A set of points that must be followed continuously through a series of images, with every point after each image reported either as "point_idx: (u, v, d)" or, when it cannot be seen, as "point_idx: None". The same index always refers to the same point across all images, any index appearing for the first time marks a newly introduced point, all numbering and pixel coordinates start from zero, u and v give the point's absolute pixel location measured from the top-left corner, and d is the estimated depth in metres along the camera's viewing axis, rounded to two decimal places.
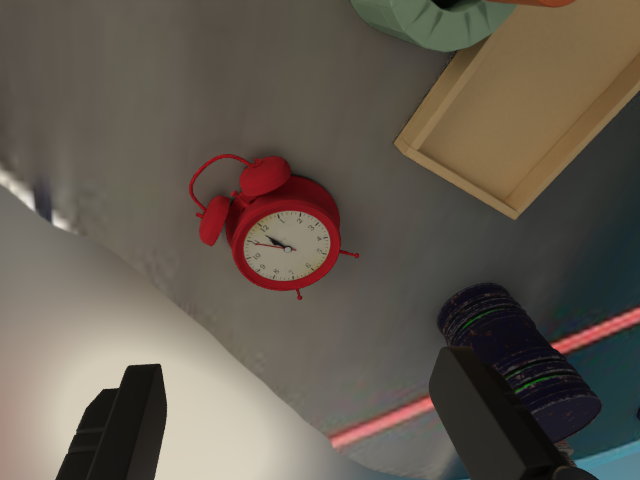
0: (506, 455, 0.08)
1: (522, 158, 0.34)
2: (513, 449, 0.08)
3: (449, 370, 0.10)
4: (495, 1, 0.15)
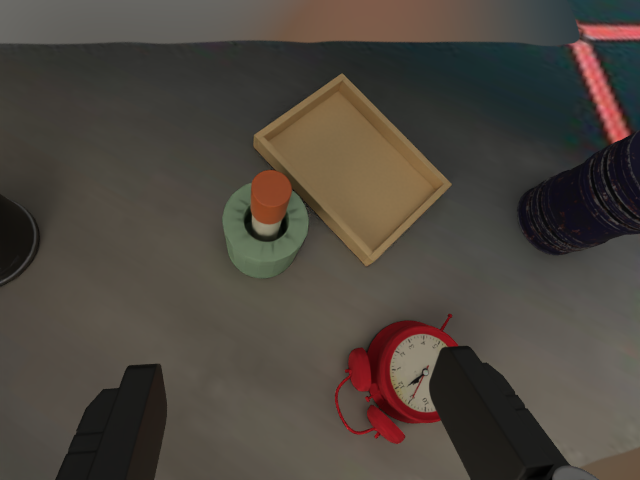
0: (506, 455, 0.08)
1: (404, 176, 0.46)
2: (513, 449, 0.08)
3: (449, 370, 0.10)
4: (284, 213, 0.29)
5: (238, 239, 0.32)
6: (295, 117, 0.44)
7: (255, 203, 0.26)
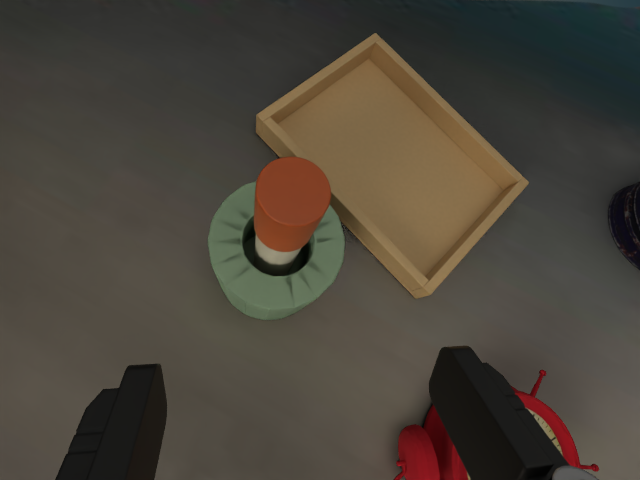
0: (506, 455, 0.08)
1: (460, 171, 0.34)
2: (513, 449, 0.08)
3: (449, 370, 0.10)
4: None
5: (234, 273, 0.19)
6: (313, 91, 0.32)
7: (263, 218, 0.14)
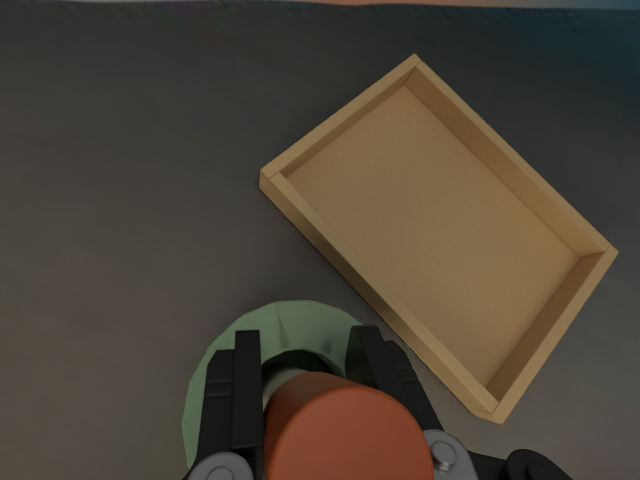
0: None
1: (525, 234, 0.26)
2: None
3: (354, 347, 0.11)
4: None
5: None
6: (335, 132, 0.24)
7: None
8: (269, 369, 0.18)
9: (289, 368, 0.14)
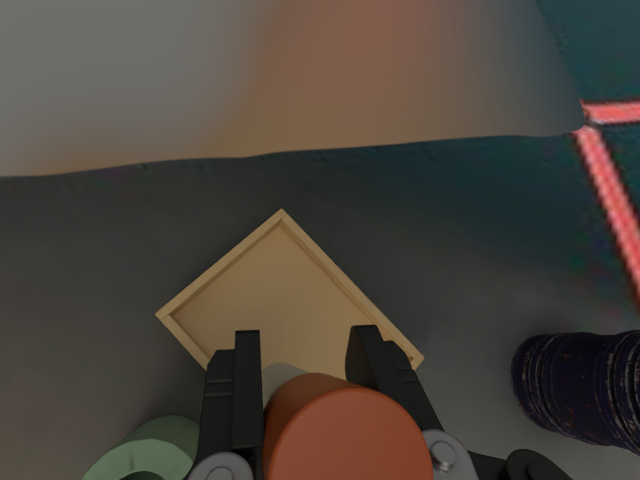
0: None
1: None
2: None
3: (354, 347, 0.11)
4: None
5: None
6: (217, 275, 0.33)
7: None
8: (269, 370, 0.18)
9: (289, 369, 0.14)
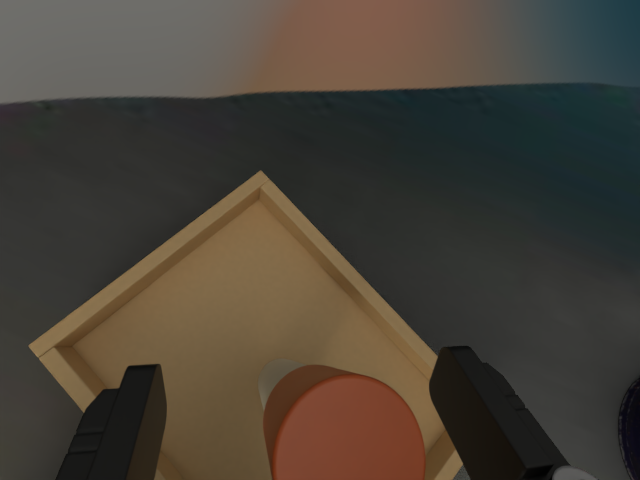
0: (506, 455, 0.08)
1: (391, 385, 0.22)
2: (513, 449, 0.08)
3: (449, 370, 0.10)
4: None
5: None
6: (149, 278, 0.20)
7: None
8: (271, 365, 0.18)
9: (291, 363, 0.15)
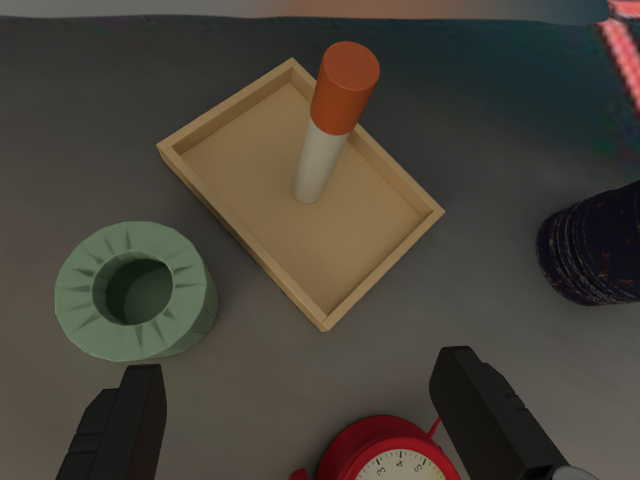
0: (506, 455, 0.08)
1: (378, 199, 0.33)
2: (513, 449, 0.08)
3: (449, 370, 0.10)
4: None
5: (79, 323, 0.19)
6: (223, 118, 0.31)
7: (327, 89, 0.18)
8: None
9: None
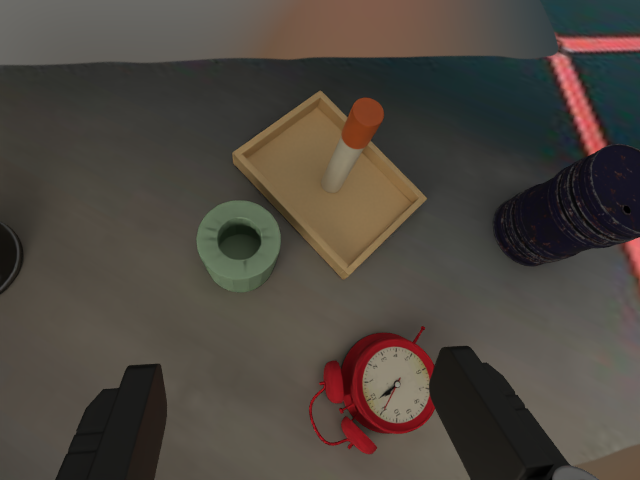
0: (506, 455, 0.08)
1: (381, 190, 0.47)
2: (513, 449, 0.08)
3: (449, 370, 0.10)
4: None
5: (211, 258, 0.33)
6: (274, 134, 0.45)
7: (354, 124, 0.32)
8: None
9: None
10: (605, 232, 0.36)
